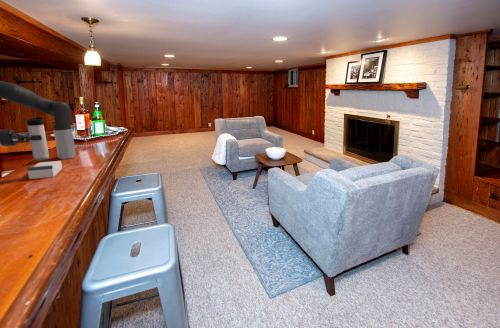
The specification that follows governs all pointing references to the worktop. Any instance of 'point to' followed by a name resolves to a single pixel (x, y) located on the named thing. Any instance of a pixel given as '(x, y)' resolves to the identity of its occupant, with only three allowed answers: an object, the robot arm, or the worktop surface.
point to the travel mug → (38, 145)
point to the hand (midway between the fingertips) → (43, 136)
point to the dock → (44, 169)
